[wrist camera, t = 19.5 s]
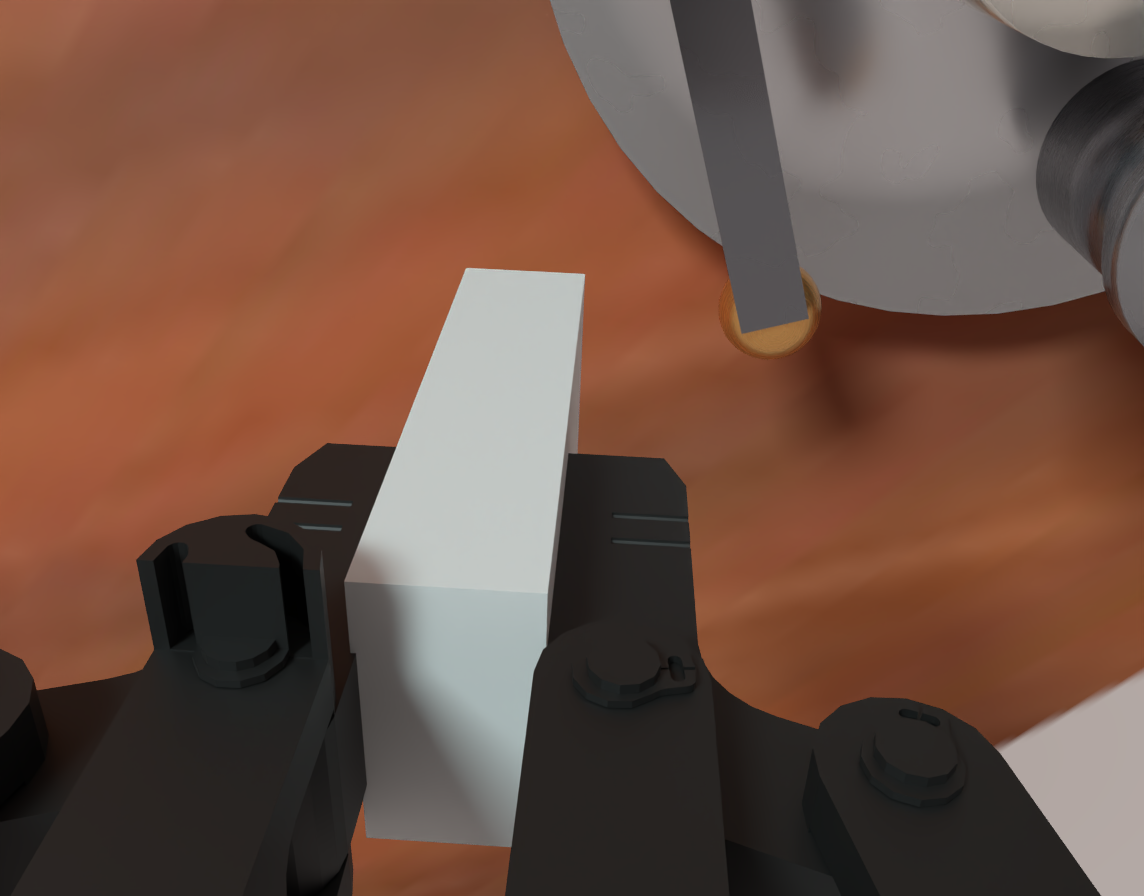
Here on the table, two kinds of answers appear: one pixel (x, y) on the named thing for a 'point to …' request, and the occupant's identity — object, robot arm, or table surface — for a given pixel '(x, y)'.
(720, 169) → the knob
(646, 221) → the table surface
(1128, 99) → the knob
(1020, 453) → the table surface
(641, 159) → the tribrach plate
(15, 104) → the table surface
